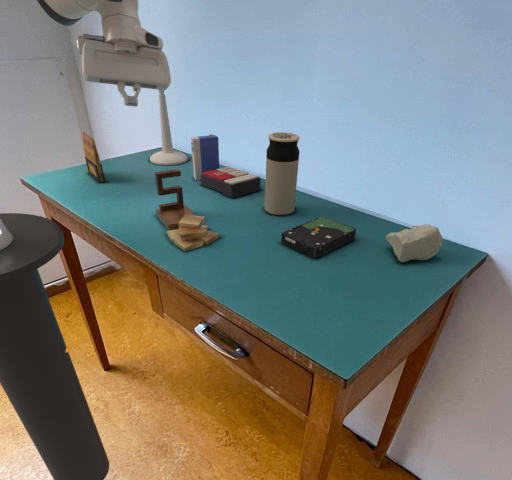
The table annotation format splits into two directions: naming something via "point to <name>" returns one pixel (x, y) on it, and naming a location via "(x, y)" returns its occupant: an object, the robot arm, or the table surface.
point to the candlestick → (166, 139)
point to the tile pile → (191, 233)
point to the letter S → (171, 211)
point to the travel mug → (281, 173)
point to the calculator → (231, 181)
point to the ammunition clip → (92, 158)
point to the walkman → (204, 154)
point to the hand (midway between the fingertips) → (131, 105)
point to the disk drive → (318, 236)
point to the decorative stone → (416, 242)
